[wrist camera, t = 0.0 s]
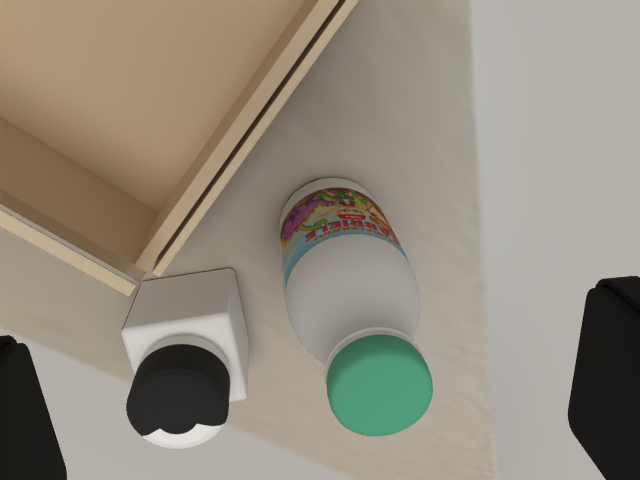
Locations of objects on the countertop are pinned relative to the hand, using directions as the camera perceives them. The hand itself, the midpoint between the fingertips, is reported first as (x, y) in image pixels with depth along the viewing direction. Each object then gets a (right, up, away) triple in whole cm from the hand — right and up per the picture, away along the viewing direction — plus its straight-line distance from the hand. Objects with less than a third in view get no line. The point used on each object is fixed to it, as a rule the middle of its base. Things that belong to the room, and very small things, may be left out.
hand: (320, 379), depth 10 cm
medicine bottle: (-10, -3, +35) cm, 36 cm away
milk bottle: (+1, +4, +33) cm, 33 cm away
